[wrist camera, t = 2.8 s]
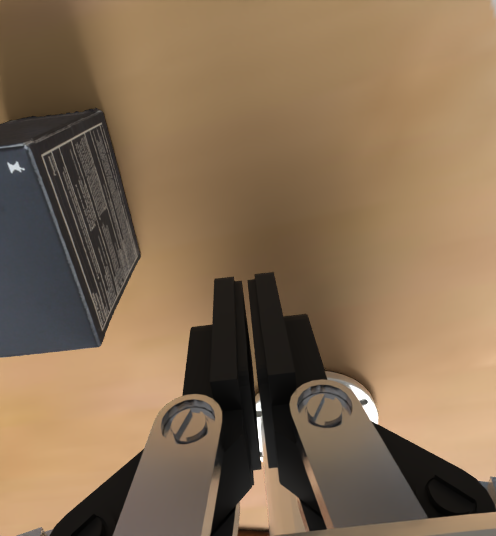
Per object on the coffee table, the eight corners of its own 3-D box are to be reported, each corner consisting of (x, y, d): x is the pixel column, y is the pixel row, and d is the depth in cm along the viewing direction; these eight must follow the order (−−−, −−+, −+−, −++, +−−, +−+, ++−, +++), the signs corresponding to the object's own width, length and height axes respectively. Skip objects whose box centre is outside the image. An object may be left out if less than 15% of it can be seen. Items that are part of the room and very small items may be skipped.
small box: (0, 119, 25) (-135, 156, 16) (104, 106, 25) (30, 136, 16) (57, 268, 30) (-20, 364, 21) (143, 258, 30) (106, 349, 20)
